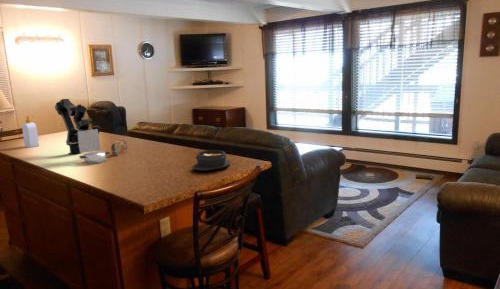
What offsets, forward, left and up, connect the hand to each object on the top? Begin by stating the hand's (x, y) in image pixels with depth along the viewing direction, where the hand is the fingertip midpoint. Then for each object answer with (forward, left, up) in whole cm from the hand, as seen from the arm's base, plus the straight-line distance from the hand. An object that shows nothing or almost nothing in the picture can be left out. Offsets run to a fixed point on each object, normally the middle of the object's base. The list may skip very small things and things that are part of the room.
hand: (88, 142), depth 231 cm
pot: (+7, -3, -11) cm, 13 cm away
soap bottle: (-81, +15, -11) cm, 83 cm away
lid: (+1, 0, +1) cm, 2 cm away
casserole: (+81, +11, -11) cm, 83 cm away
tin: (+4, +19, -11) cm, 23 cm away
